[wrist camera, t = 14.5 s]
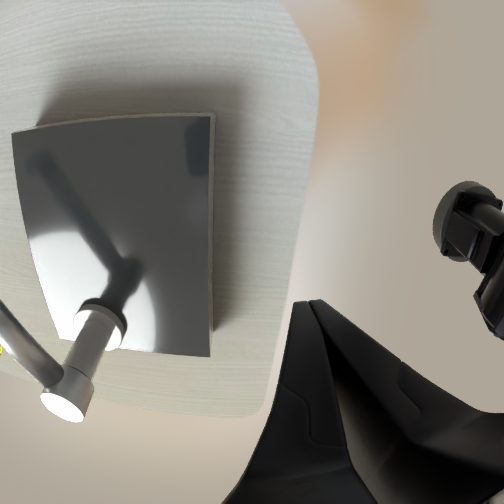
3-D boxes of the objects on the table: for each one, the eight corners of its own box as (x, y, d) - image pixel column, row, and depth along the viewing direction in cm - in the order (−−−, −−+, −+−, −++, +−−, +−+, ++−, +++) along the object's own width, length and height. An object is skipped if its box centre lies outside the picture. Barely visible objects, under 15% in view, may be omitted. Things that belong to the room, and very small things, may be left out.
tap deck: (215, 113, 19) (193, 127, 11) (213, 332, 27) (204, 415, 19) (34, 125, 18) (-46, 154, 10) (72, 317, 26) (34, 384, 19)
